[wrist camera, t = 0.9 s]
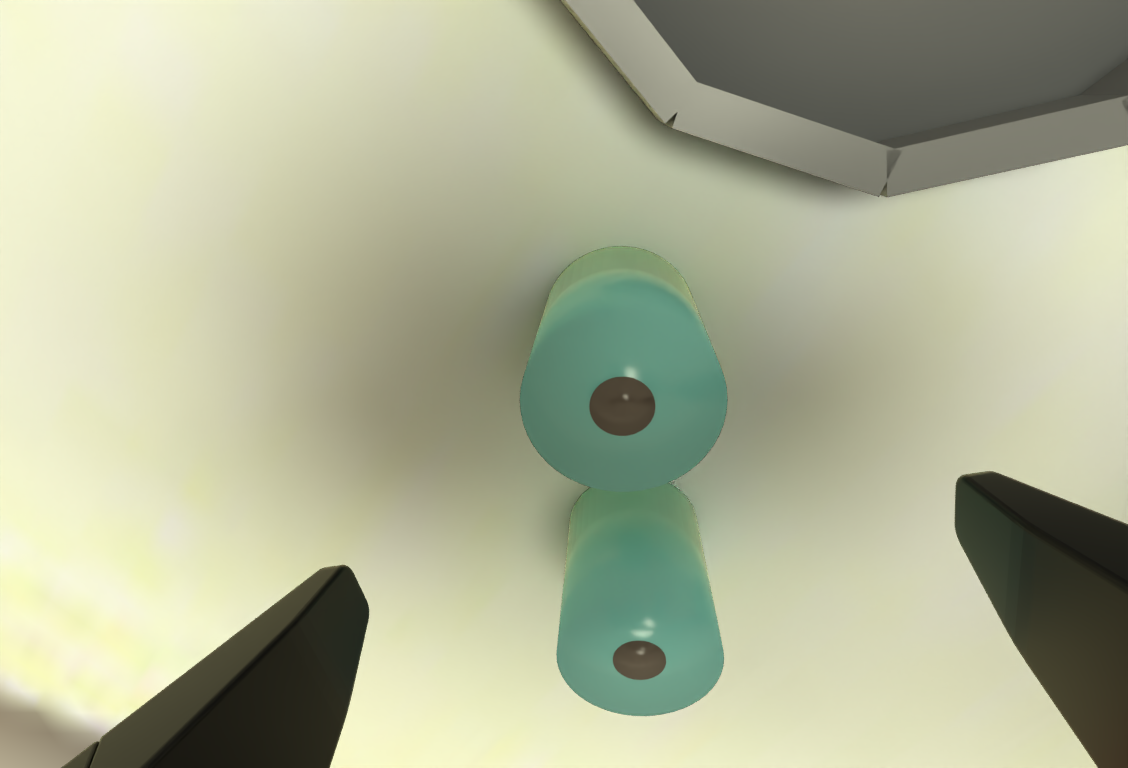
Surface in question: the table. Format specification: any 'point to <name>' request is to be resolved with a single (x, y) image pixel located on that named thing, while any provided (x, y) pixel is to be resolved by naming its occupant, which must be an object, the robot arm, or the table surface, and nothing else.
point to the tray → (878, 81)
